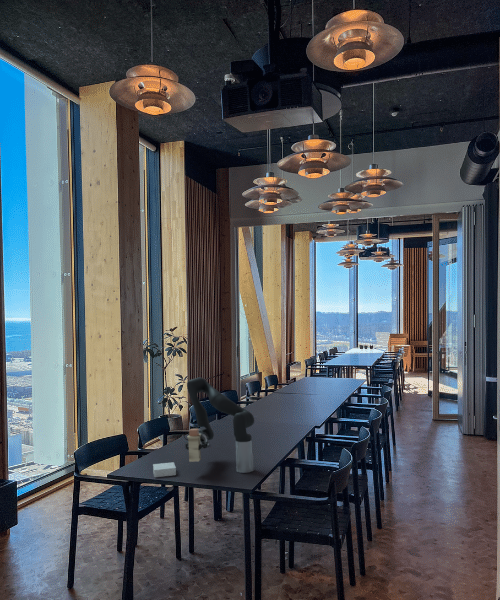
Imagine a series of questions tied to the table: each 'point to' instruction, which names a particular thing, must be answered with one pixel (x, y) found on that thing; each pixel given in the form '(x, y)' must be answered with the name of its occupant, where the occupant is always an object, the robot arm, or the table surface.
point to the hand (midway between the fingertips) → (193, 448)
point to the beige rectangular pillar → (194, 448)
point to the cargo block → (193, 432)
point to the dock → (164, 469)
